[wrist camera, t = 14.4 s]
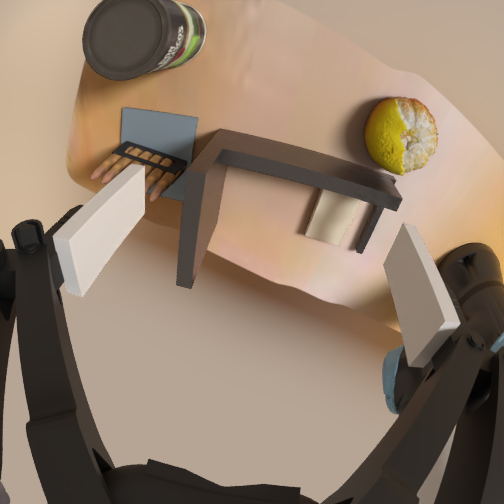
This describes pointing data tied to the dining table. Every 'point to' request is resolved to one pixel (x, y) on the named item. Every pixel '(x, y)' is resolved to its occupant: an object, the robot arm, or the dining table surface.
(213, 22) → the dining table surface
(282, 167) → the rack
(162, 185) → the ammunition clip
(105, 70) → the coffee can
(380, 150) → the fruit
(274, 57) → the dining table surface
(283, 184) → the dining table surface
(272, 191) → the dining table surface
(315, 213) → the offcut upper
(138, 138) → the mat
